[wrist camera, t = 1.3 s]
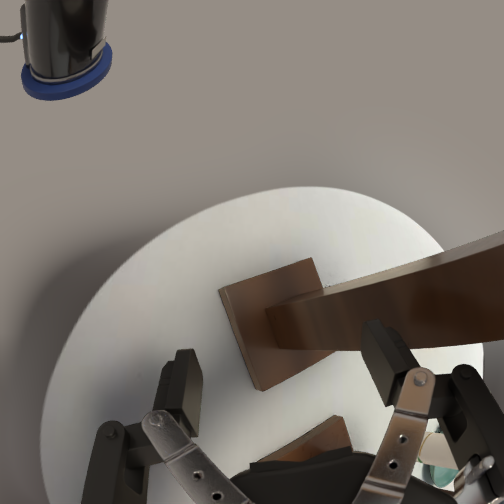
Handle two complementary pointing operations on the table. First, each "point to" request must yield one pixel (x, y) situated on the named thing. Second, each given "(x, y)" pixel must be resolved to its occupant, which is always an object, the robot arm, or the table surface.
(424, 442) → the tube
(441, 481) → the saucer
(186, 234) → the table surface
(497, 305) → the wooden pedestal stand
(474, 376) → the robot arm
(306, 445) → the blue-topped display stand
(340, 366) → the table surface
